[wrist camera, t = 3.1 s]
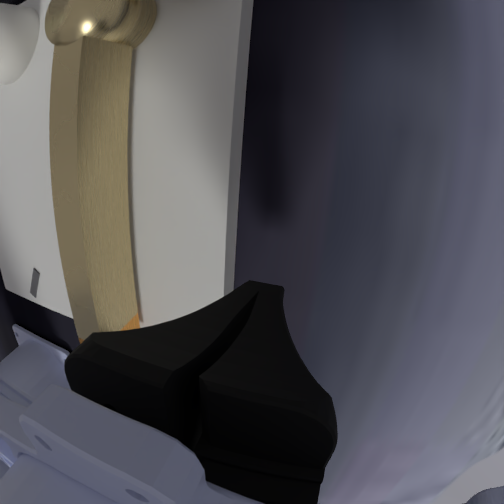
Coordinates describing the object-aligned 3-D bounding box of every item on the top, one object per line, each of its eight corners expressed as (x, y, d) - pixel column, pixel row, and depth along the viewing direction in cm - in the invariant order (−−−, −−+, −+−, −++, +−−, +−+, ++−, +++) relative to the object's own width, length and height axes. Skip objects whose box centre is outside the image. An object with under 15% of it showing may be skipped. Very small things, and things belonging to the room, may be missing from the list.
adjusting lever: (157, 338, 16) (125, 378, 13) (108, 322, 16) (73, 356, 13) (161, -18, 9) (115, -45, 6) (101, -2, 10) (52, -17, 7)
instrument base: (230, 348, 17) (184, 438, 11) (18, 280, 21) (-38, 318, 15) (258, -53, 9) (205, -134, 3) (7, 23, 13) (-63, 21, 7)
